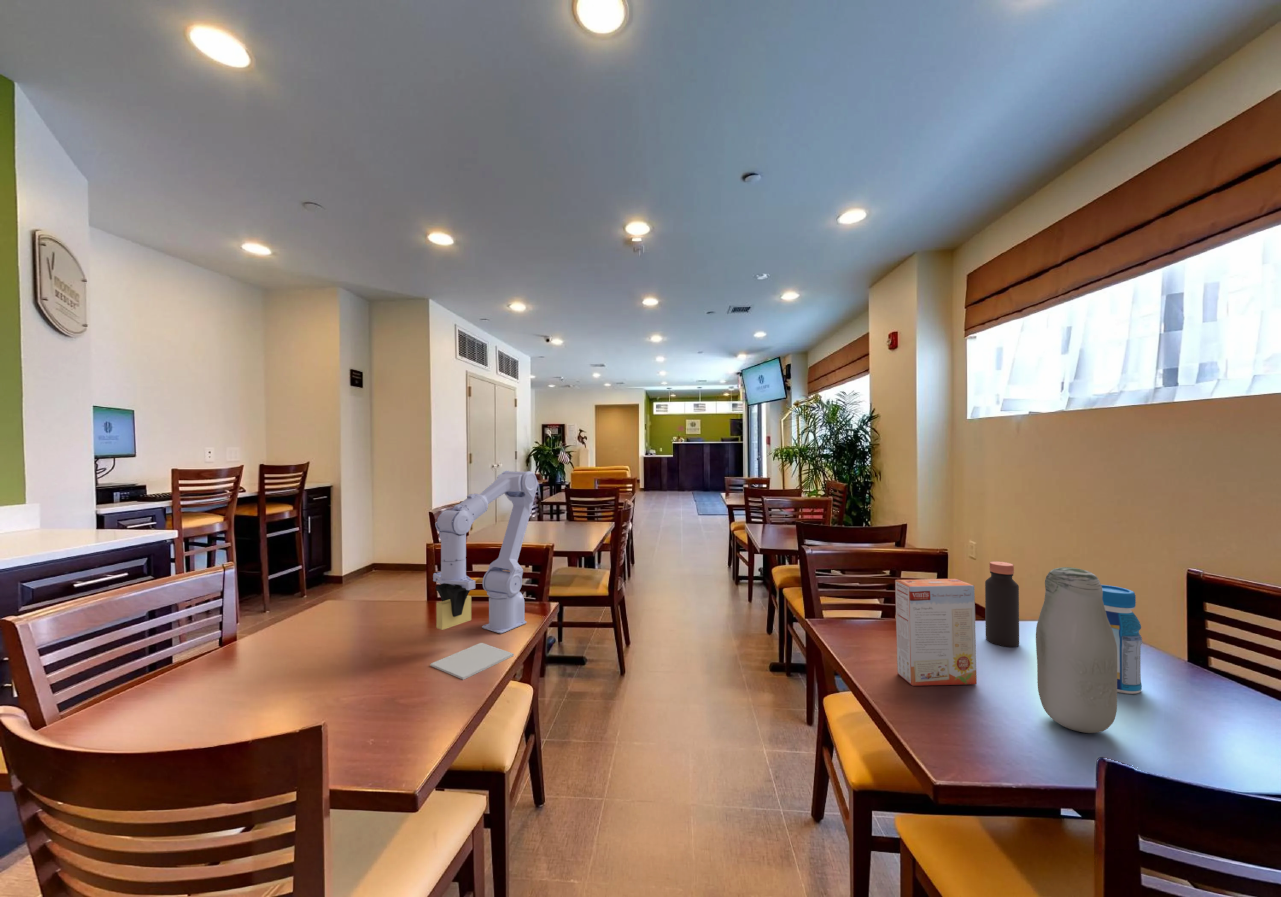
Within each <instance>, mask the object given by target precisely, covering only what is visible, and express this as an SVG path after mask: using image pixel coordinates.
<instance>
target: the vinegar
mask: <svg viewBox="0 0 1281 897" xmlns="http://www.w3.org/2000/svg"><path fill="white" fill-rule="evenodd" d="M989 573H990V576H989V577H988V578H987V579H986V580H985V582H984V594H985V595H984V596H985V597H984V598H985V600H984V602H985V603H984V607H985V610H984V612H985V614H984V615H985V622H984V624H985V639H986V640H987V641H988V642H990V643H991V644H994V645H997V646H1002V647H1005V648H1006V647H1009V648H1016V647H1018V646H1019V645H1020V591H1019V590H1020V586H1019V584H1018V583H1017V582H1016V581H1015V580H1014V579H1013V576H1014V574H1015V565H1014V564H1013V563H1010V562H1006V561H990V562H989Z"/></svg>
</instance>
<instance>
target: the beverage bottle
mask: <svg viewBox="0 0 1281 897" xmlns="http://www.w3.org/2000/svg"><path fill="white" fill-rule="evenodd" d="M1101 586H1102V590H1103V596H1102V600H1103V603H1104V607H1105V611H1106V615H1107V618H1108V621H1109V623H1110V626H1111V628H1112V630H1113V634H1114V637H1115V641H1116V645H1117V693H1119V694H1126V695H1127V694H1128V695H1132V694H1133V695H1134V694H1139V693H1141V692H1142V686H1143V685H1142V679H1141V676H1142V675H1141V666H1142V665H1141V652H1142V651H1141V648H1142V647H1141V646H1142V644H1143V637H1142V636H1141V633H1140V631H1141V630H1142V624H1141V622H1140V620H1139V618H1138V617H1137V616H1136V614H1135V613H1134V612H1133V611H1132V610H1135V608H1136V605H1137V604H1136V603H1137V602H1136V598H1137V597H1136V593H1135V591H1133V590H1131V589H1128V588H1124V587H1121V586H1120V587H1119V586H1114V585H1109V584H1108V585H1107V584H1101Z"/></svg>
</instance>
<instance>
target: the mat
mask: <svg viewBox="0 0 1281 897" xmlns="http://www.w3.org/2000/svg"><path fill="white" fill-rule="evenodd" d="M514 656H515V653H513V652H510V651H507V650H505V649H501V648H498V647H495V646H492V645H489V644H487V643H484V642H479V643H477V644H474V645H472V646H469V647H468V648H464V649H463V650H460V651H457V652H455V653H453V654H450V655H449V656H446V657H444V658H441V659H438V660H436V661H434V662H432V663H430V667H432V668H435V669H437V670H439V671H442V672H444V673H446V674H449V675H451V676H454V677H456V678H458V679H460V680H462V681H463V680H465V679H468V678H470V677H472V676H474V675H476V674H479V673H480V672H483V671H485V670H487V669H489V668H492V667H493V666H495V665H497V664H499V663H501V662H504V661H507V660H508V659H510V658H512V657H514Z"/></svg>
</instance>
